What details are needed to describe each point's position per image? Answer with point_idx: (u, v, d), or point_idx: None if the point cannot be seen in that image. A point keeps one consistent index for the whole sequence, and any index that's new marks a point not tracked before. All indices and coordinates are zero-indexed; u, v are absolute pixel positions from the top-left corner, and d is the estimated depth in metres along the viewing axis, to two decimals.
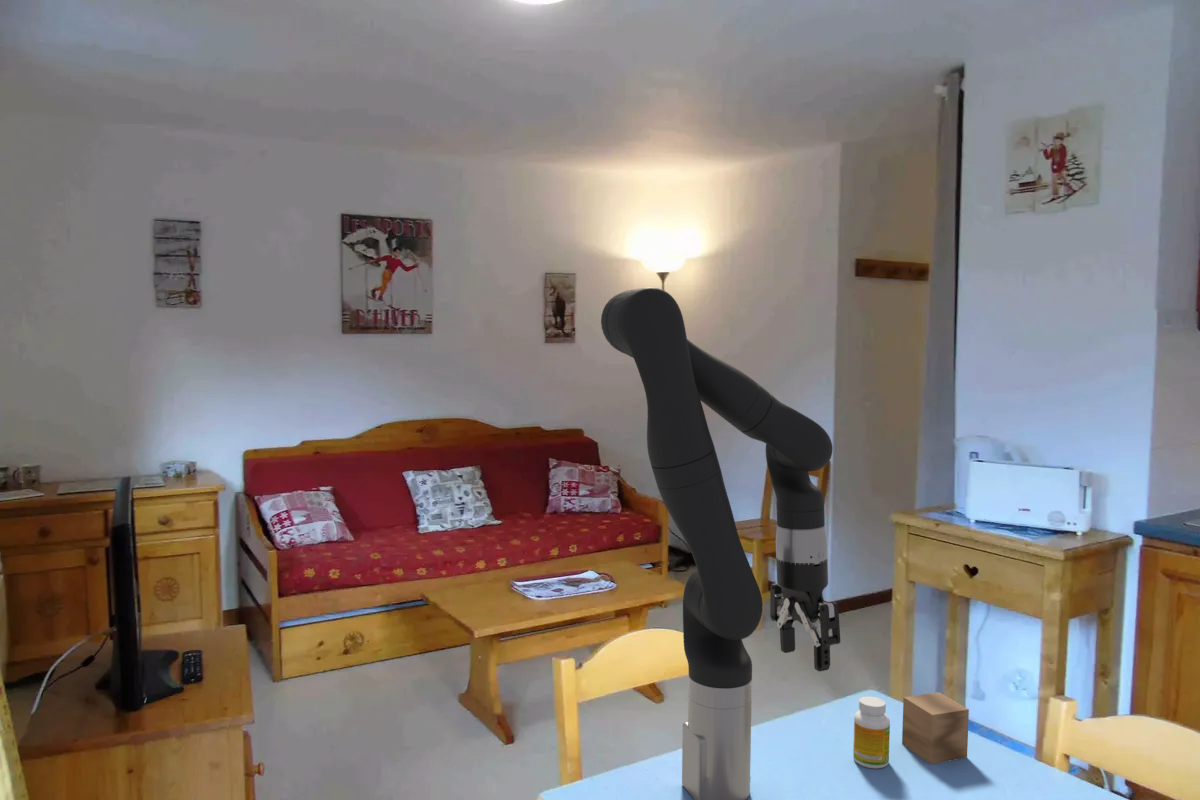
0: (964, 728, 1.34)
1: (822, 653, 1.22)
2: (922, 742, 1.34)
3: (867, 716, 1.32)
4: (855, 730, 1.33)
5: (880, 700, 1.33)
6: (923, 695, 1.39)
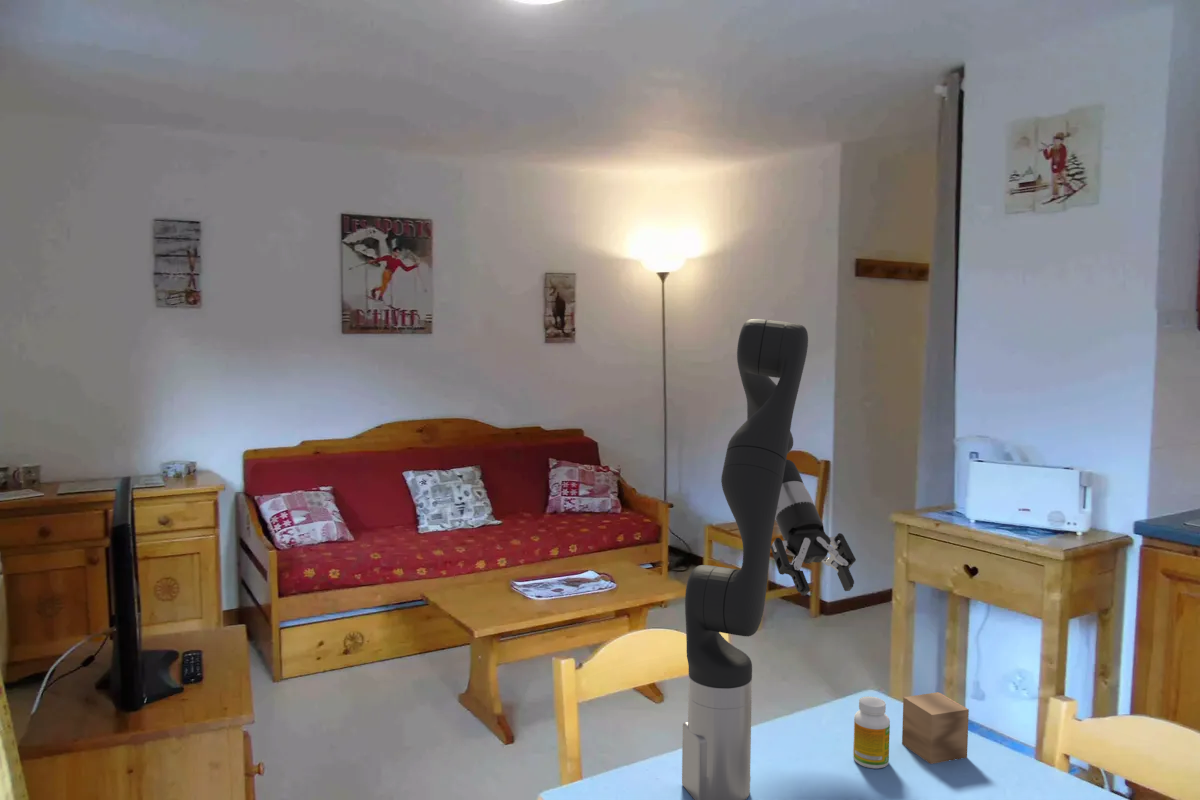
0: (964, 728, 1.34)
1: (849, 572, 1.47)
2: (922, 742, 1.34)
3: (867, 716, 1.32)
4: (855, 730, 1.33)
5: (880, 700, 1.33)
6: (923, 695, 1.39)
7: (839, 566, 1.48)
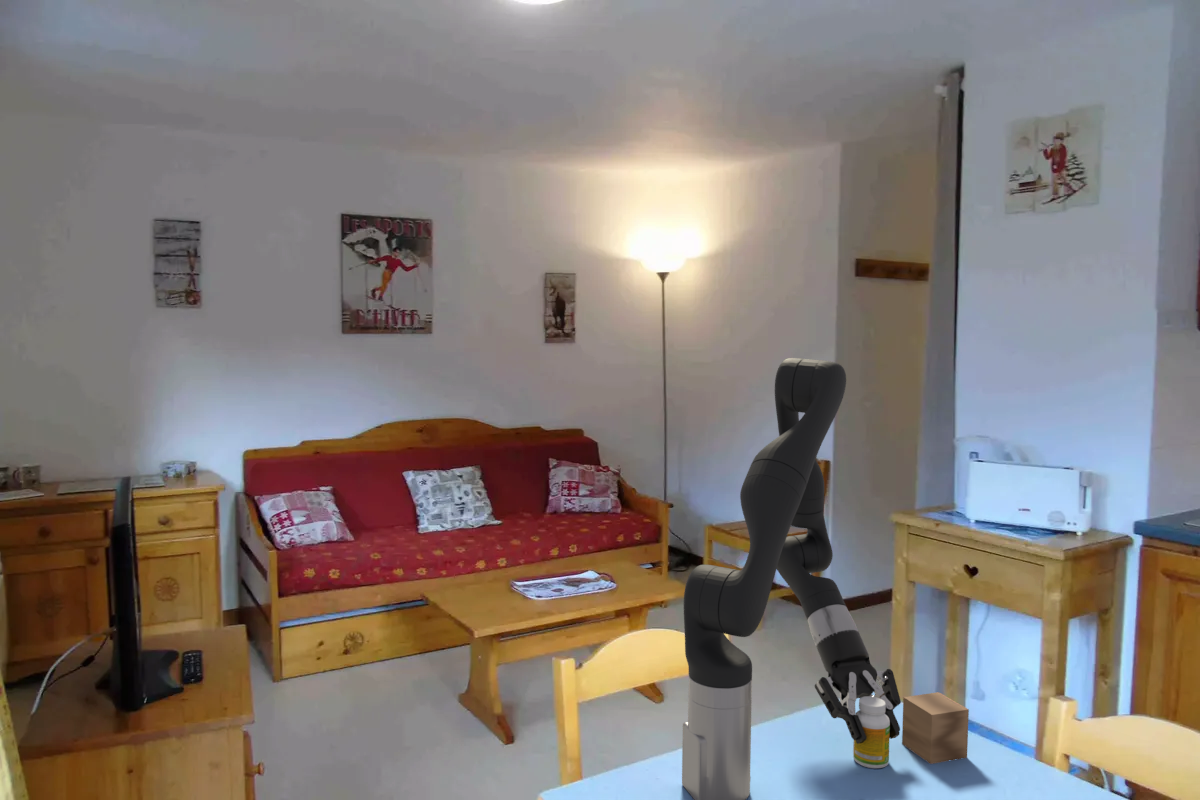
0: (964, 728, 1.34)
1: (894, 716, 1.34)
2: (922, 742, 1.34)
3: (867, 716, 1.32)
4: None
5: (880, 700, 1.33)
6: (923, 695, 1.39)
7: None
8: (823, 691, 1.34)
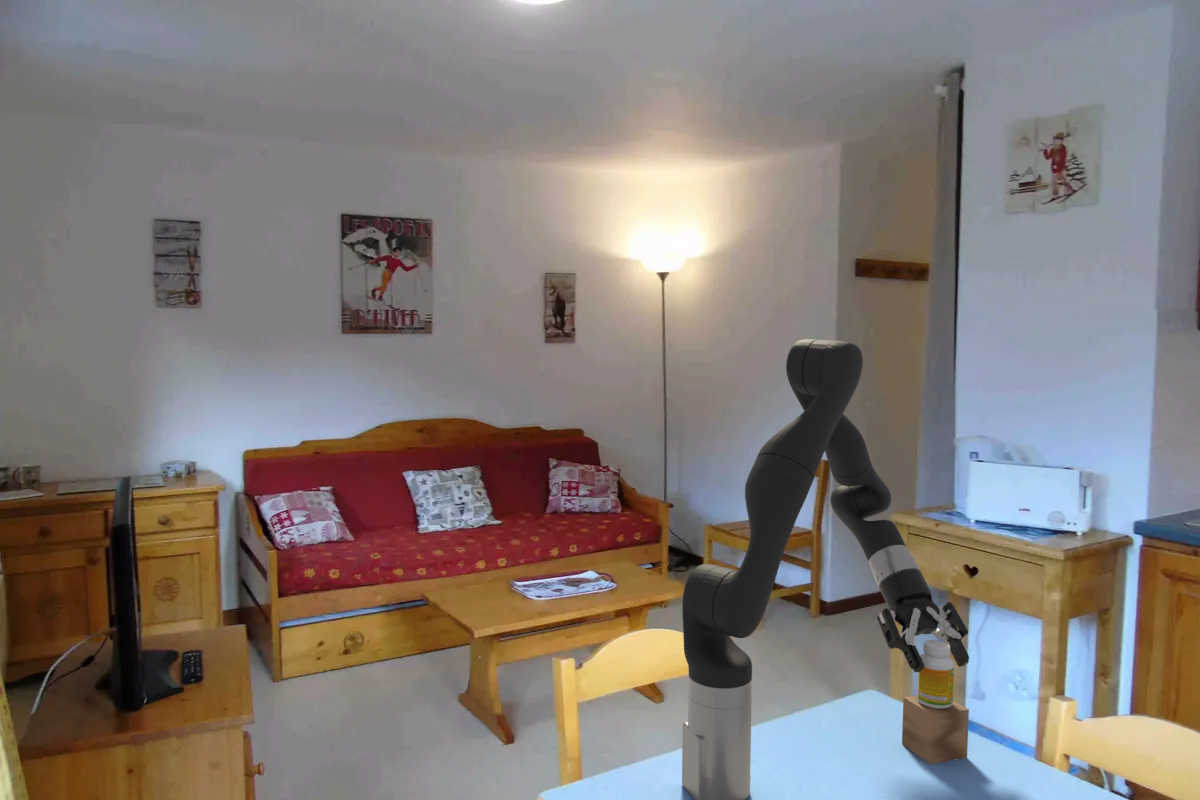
0: (964, 728, 1.34)
1: (962, 645, 1.38)
2: (922, 742, 1.34)
3: (932, 658, 1.35)
4: (920, 672, 1.36)
5: (944, 643, 1.36)
6: None
7: (951, 639, 1.39)
8: (884, 621, 1.38)
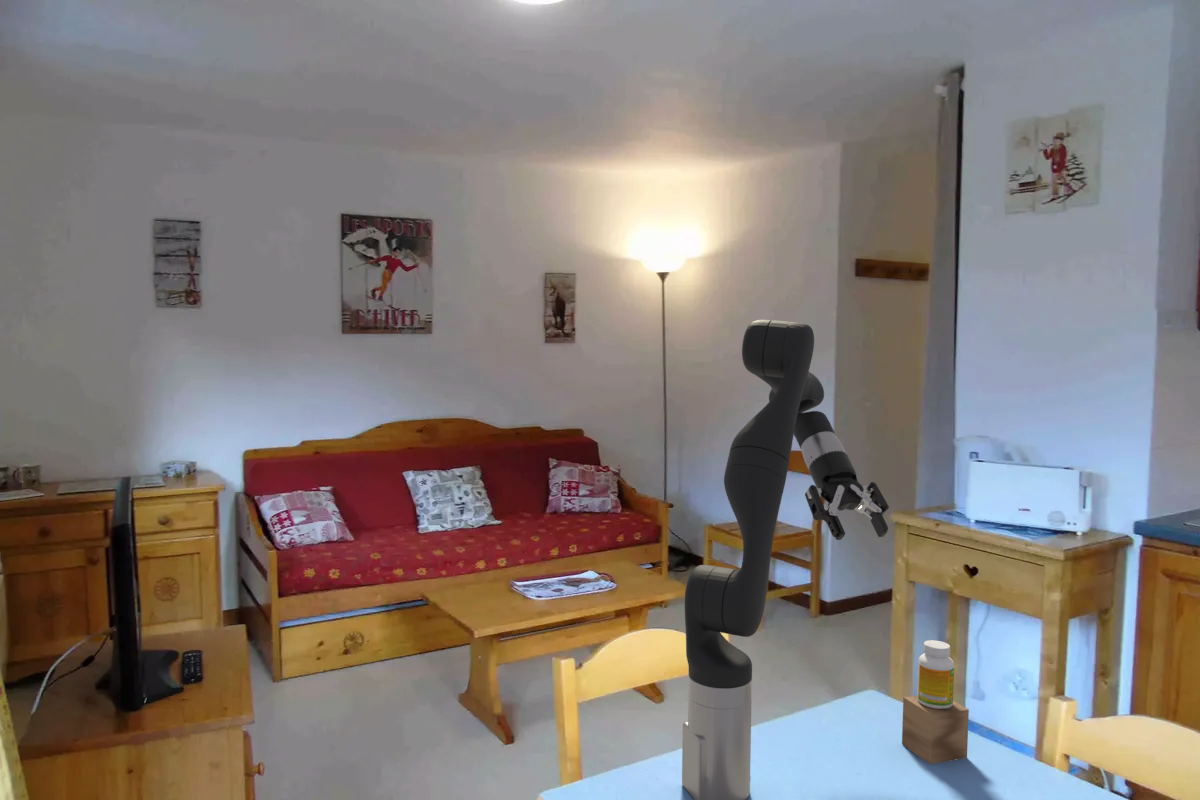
0: (964, 728, 1.34)
1: (883, 518, 1.49)
2: (922, 742, 1.34)
3: (932, 658, 1.35)
4: (920, 672, 1.36)
5: (944, 643, 1.36)
6: None
7: (872, 513, 1.50)
8: (810, 496, 1.50)
